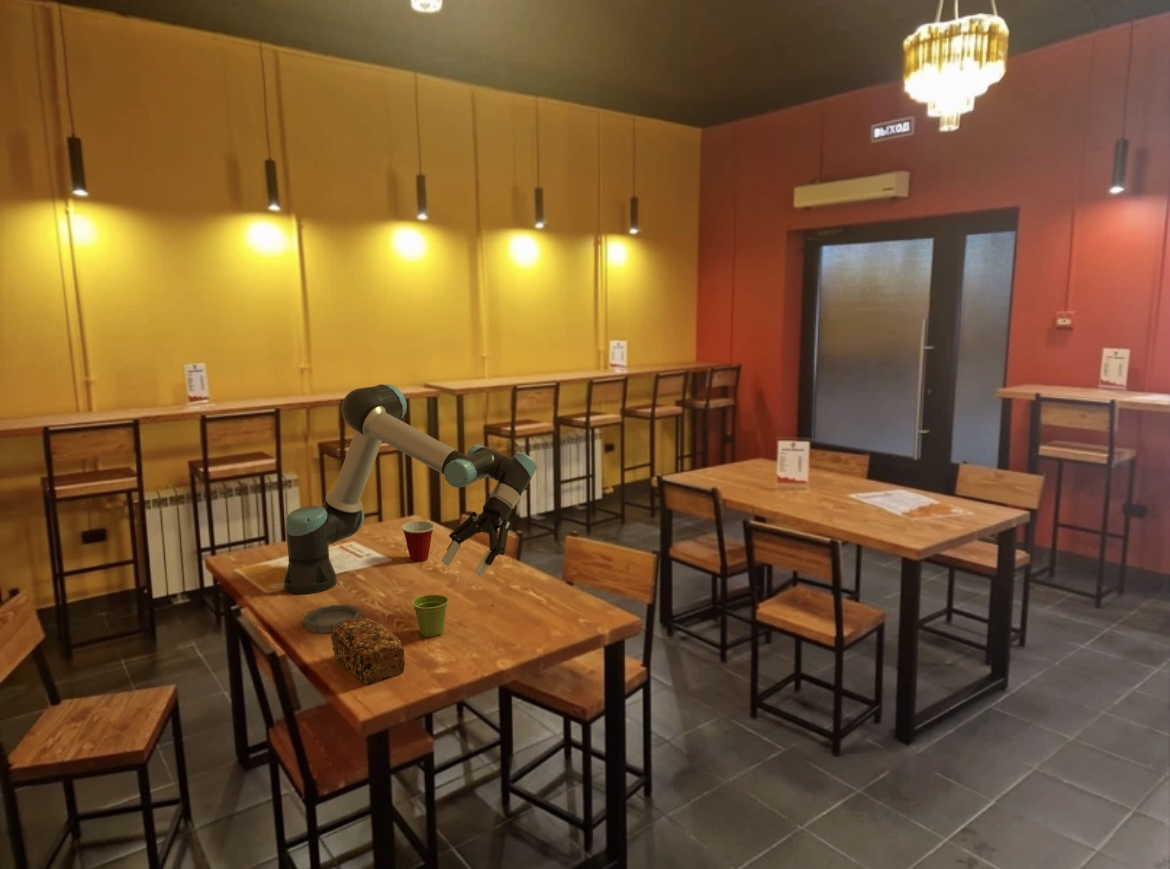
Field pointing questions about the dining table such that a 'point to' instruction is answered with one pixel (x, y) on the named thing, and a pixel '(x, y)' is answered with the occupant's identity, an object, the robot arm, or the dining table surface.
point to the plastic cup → (418, 539)
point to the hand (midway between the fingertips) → (461, 569)
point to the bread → (367, 649)
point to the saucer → (329, 617)
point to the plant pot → (430, 614)
